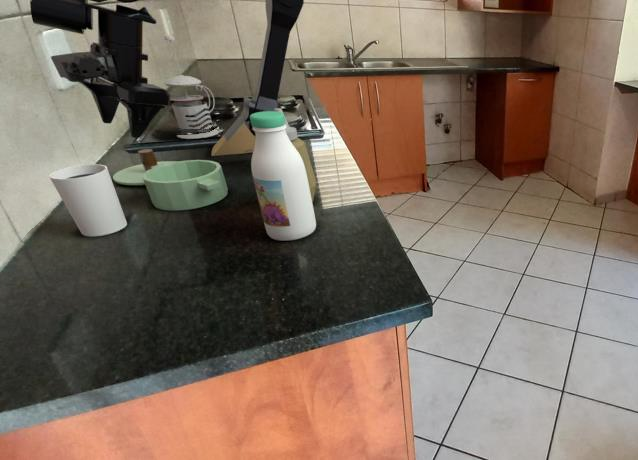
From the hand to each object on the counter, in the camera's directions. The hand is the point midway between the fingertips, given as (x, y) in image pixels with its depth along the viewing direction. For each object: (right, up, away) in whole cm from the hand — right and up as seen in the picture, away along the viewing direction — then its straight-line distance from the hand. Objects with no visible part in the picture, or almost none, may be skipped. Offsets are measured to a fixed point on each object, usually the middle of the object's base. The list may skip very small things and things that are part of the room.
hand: (121, 130), depth 79 cm
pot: (+11, -12, +3) cm, 17 cm away
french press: (-14, +8, +39) cm, 43 cm away
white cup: (+5, -18, -8) cm, 21 cm away
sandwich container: (+5, +2, +30) cm, 31 cm away
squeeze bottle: (+31, -13, +4) cm, 34 cm away
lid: (-3, -7, +11) cm, 13 cm away
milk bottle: (+35, -19, -6) cm, 41 cm away
